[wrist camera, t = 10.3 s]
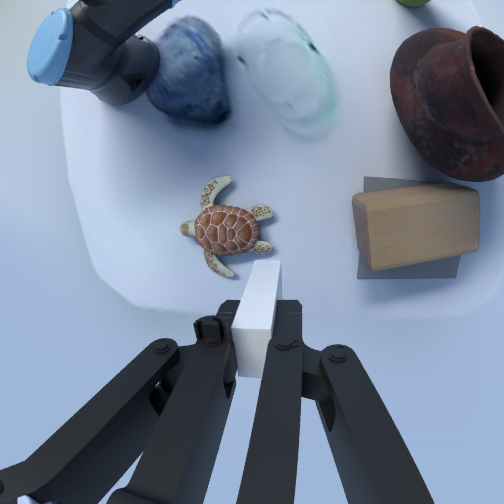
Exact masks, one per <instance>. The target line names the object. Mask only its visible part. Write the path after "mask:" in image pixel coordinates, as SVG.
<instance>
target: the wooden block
mask: <svg viewBox="0 0 504 504" xmlns="http://www.w3.org/2000/svg"><path fill="white" fill-rule="evenodd" d="M352 203H353V210H354V218H355V226H356V235H357V244H358V249H359V250H360V252H361V254H362V256H363V257H364V259H365V261H366V262H367V264H368V266H369V268H370V270H373V271H379V270H384V269H390V268H395V267H401V266H406V265H411V264H416V263H422V262H427V261H432V260H437V259H442V258H446V257H451V256H456V255H460V254H465V253H470V252H474V251H476V250H477V249H478V247H479V194H478V191H477V190H475V189H472V188H469V187H465V186H461V185H458V184H454V183H450V182H446V183H437V184H428V185H419V186H411V187H403V188H395V189H387V190H380V191H373V192H366V193H359V194H356V195H354V196H353V199H352Z"/></svg>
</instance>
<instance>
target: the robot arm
mask: <svg viewBox="0 0 504 504" xmlns="http://www.w3.org/2000/svg"><path fill="white" fill-rule="evenodd" d="M180 1H181V0H79V1H78V2H77V3H76V4H75V5H74V6H73V7H72V8H71V9H70V10H69V9H67V8H63V9H58V10H56V11H55V12H52V13H51V14H50V15H48V16H47V17H46V18H45V19H44V21H43V22H42V23H41V25H40V26H39V28H38V29H37V31H36V33H35V35H34V37H33V40H32V42H31V45H30V49H29V52H28V57H27V69H28V73H29V76H30V77H31V79H32V80H34V81H35V82H39V83H43V84H47V85H49V86H53V85H55V86H63V87H71V88H78V89H85V90H89V91H91V92H92V93H93V94H94V95H96V96H97V97H98V98H99V99H100V100H102V101H104V102H107V103H112V104H124V103H127V102H130V101H132V100H134V99H135V98H137V97H138V96H139V95H141V94H142V93H143V92H144V91H145V90H146V89H147V87H148V86H149V85H150V83H151V82H152V80H153V78H154V76H155V74H156V72H157V69H158V64H159V53H158V49H157V47H156V45H155V44H154V43H153V42H152V41H151V40H149V39H148V38H146V37H144V36H142V35H138V34H135V33H136V32H138V31H139V30H140V29H141V28H143V27H144V26H145V25H147V24H148V23H149V22H151V21H152V20H153V19H155V18H156V17H157V16H159V15H160V14H162V13H163V12H165V11H166V10H167V9H171V8H173V7H174V6H175V4H177V3H178V2H180ZM194 329H195V333H196V337H197V342H196V343H195V344H193V345H188V346H179V347H178V345H177V343H176V341H174V340H172V339H169V338H162V339H158V340H155V341H153V342H152V343H150V344H149V345H148V346H147V347H146V348H145V349H144V350H143V351H142V352H141V353H140V354H139V355H138V356H136V357H135V358H134V359H133V360H132V361H131V362H130V363H129V364H128V365H127V366H126V367H125V368H124V369H122V370H121V371H120V373H118V374H117V375H116V376H115V377H114V378H113V379H112V380H111V381H110V382H109V383H108V384H106V385H105V386H104V387H103V388H102V389H101V390H100V391H99V392H98V393H97V394H96V395H95V396H94V397H93V398H91V399H90V400H89V401H88V402H87V403H86V404H85V405H84V406H83V407H82V408H81V409H80V410H79V411H78V412H76V413H75V414H74V415H73V416H72V417H71V418H70V419H69V420H68V421H67V422H66V423H65V424H64V425H63V426H62V427H60V428H59V429H58V430H57V431H56V432H55V433H54V434H53V435H52V436H51V437H50V438H49V439H48V440H47V441H45V443H43V445H41V446H40V447H39V448H38V449H37V450H36V451H35V452H34V453H33V454H32V455H31V456H30V457H28V458H27V459H26V460H25V461H23V462H21V463H18V464H16V465H13V466H10V467H8V468H5V469H2V470H0V504H98V503H99V502H100V501H101V499H102V498H103V497H104V496H105V495H106V494H107V493H108V492H109V491H110V489H111V488H112V487H113V486H114V485H115V484H116V482H117V481H118V480H119V479H120V478H121V477H122V476H123V475H124V473H125V472H126V471H127V470H128V469H129V467H130V466H131V465H132V464H133V463H134V462H135V460H136V459H137V458H138V457H139V456H140V455H141V453H142V452H143V454H142V456H141V458H140V460H139V462H138V464H137V466H136V469H135V471H134V473H133V475H132V477H131V479H130V482H129V483H128V485H127V486H126V487H124V488H120V489H117V490H115V491H114V492H113V493H112V494H111V496H110V497H109V499H108V501H107V503H106V504H203V502H204V498H205V495H206V491H207V488H208V484H209V481H210V478H211V474H212V471H213V467H214V464H215V460H216V457H217V453H218V450H219V446H220V442H221V439H222V435H223V431H224V428H225V424H226V421H227V417H228V413H229V409H230V406H231V402H232V399H233V395H234V391H235V387H236V379H235V375H236V371H238V376H242V377H256V378H262V380H261V386H260V391H259V397H258V402H257V407H256V413H255V418H254V423H253V428H252V433H251V438H250V443H249V448H248V452H247V457H246V462H245V466H244V471H243V476H242V480H241V485H240V489H239V494H238V498H237V502H236V504H294V496H295V486H296V485H295V484H296V475H297V462H298V449H299V434H300V415H301V397H304V398H308V399H312V400H315V403H316V406H317V409H318V412H319V415H320V418H321V421H322V424H323V427H324V430H325V433H326V436H327V439H328V442H329V445H330V448H331V451H332V454H333V457H334V460H335V464H336V467H337V470H338V473H339V476H340V479H341V482H342V485H343V488H344V491H345V495H346V498H347V501H348V504H434V501H433V499H432V497H431V495H430V493H429V491H428V489H427V486H426V485H425V482H424V480H423V478H422V476H421V474H420V472H419V470H418V468H417V466H416V464H415V462H414V460H413V458H412V456H411V454H410V452H409V450H408V448H407V446H406V444H405V442H404V441H403V439H402V437H401V435H400V433H399V431H398V429H397V427H396V425H395V424H394V422H393V420H392V418H391V416H390V414H389V412H388V411H387V408H386V407H385V405H384V403H383V401H382V399H381V398H380V396H379V394H378V392H377V390H376V388H375V387H374V385H373V383H372V381H371V380H370V378H369V376H368V374H367V373H366V371H365V369H364V368H363V366H362V364H361V362H360V360H359V359H358V357H357V355H356V353H355V352H354V351H353V350H352V349H351V348H349V347H348V346H345V345H340V344H337V345H331V346H328V347H326V348H325V349H323V350H322V351H318V350H314V349H311V348H310V347H308V346H307V345H305V344H304V342H303V340H302V305H301V304H300V302H299V301H298V300H282V279H281V260H255V262H254V265H253V268H252V271H251V273H250V276H249V279H248V282H247V285H246V287H245V290H244V293H243V296H242V299H241V300H226V301H225V302H224V303H223V304H221V305H220V308H219V310H218V312H217V314H216V316H214V315H212V316H205V317H202V318H200V319H198V320H196V322H195V323H194ZM158 382H159V384H158V385H157V383H158ZM156 385H157V386H156Z"/></svg>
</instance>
